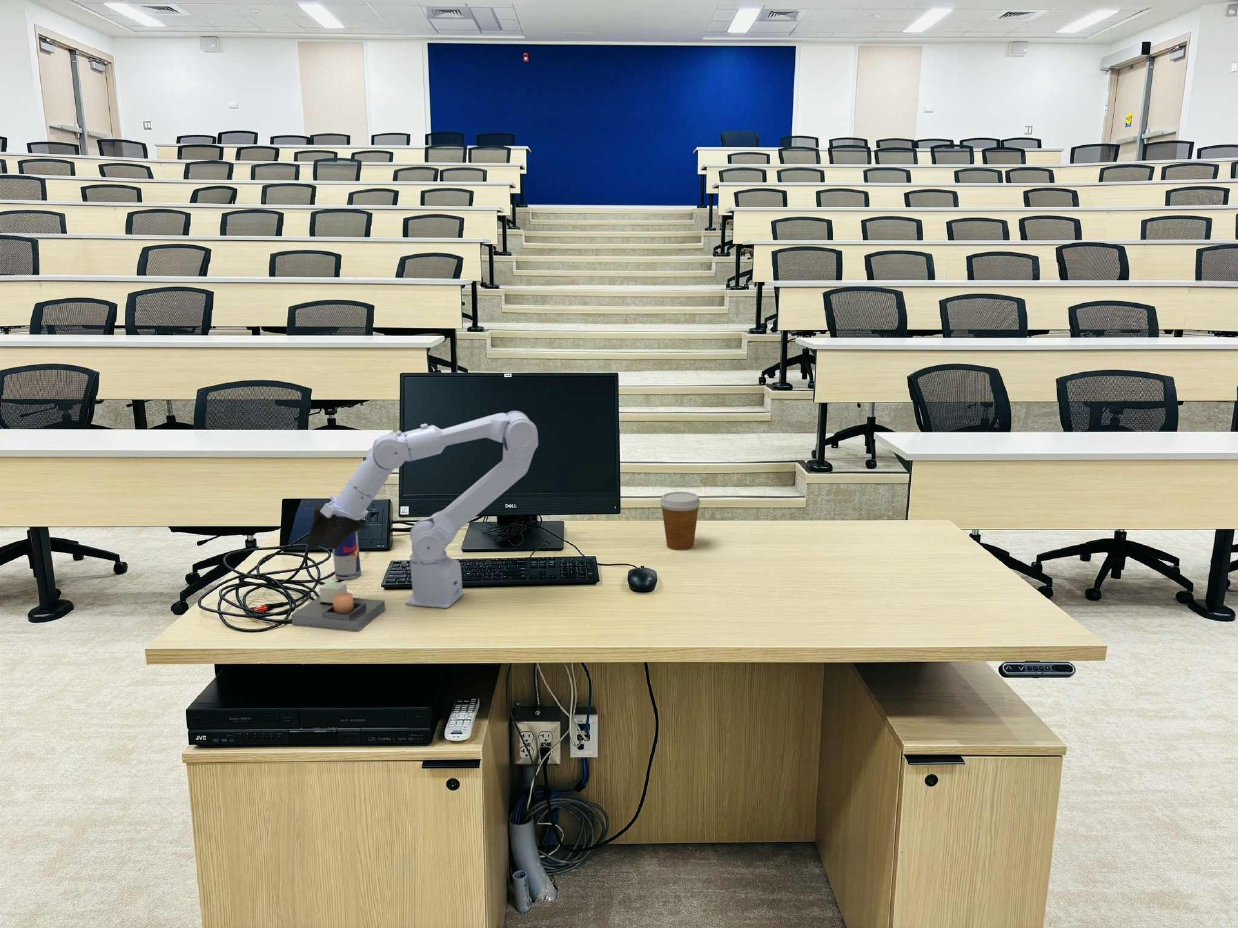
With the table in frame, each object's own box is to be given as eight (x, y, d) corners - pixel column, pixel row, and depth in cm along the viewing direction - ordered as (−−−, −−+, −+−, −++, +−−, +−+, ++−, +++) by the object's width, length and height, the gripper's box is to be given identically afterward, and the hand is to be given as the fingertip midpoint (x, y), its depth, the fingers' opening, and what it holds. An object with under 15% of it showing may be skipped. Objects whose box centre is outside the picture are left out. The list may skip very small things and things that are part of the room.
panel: (385, 610, 170) (384, 595, 169) (357, 631, 161) (356, 616, 160) (322, 604, 173) (321, 590, 173) (292, 624, 164) (290, 609, 163)
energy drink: (353, 581, 185) (348, 527, 182) (331, 579, 186) (325, 526, 183) (365, 572, 190) (360, 520, 187) (343, 570, 191) (338, 519, 189)
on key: (347, 597, 170) (346, 582, 170) (339, 603, 167) (337, 588, 167) (329, 595, 171) (328, 581, 171) (321, 601, 168) (319, 586, 168)
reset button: (357, 607, 165) (356, 593, 164) (347, 615, 162) (345, 600, 161) (341, 606, 166) (339, 591, 165) (330, 613, 163) (328, 599, 162)
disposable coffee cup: (673, 536, 210) (673, 489, 207) (707, 543, 204) (708, 494, 201) (652, 547, 202) (651, 498, 199) (686, 555, 197) (686, 504, 194)
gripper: (363, 479, 174) (324, 533, 174) (327, 474, 160) (285, 533, 160) (389, 500, 173) (349, 554, 173) (355, 496, 158) (312, 556, 159)
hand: (320, 546), depth 166 cm, fingers open, 7 cm apart
